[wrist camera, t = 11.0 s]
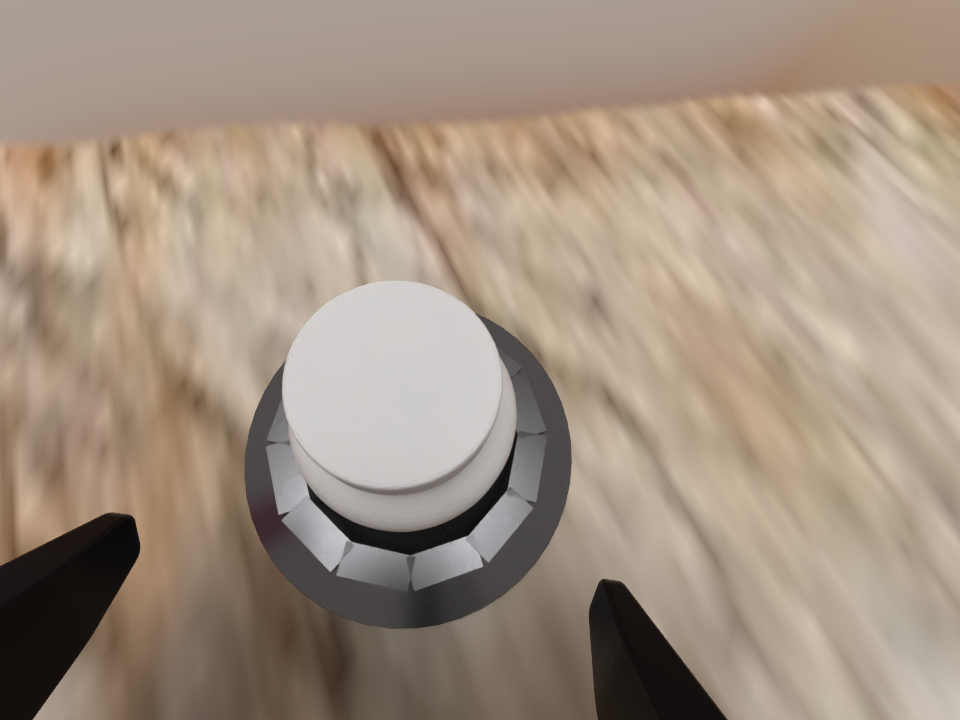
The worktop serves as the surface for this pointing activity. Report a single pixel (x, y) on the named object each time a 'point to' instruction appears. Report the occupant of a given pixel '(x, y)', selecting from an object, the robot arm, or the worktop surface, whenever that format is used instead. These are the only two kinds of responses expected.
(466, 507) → the supplement bottle
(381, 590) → the collar holder
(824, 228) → the worktop surface
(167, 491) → the worktop surface
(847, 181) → the worktop surface
